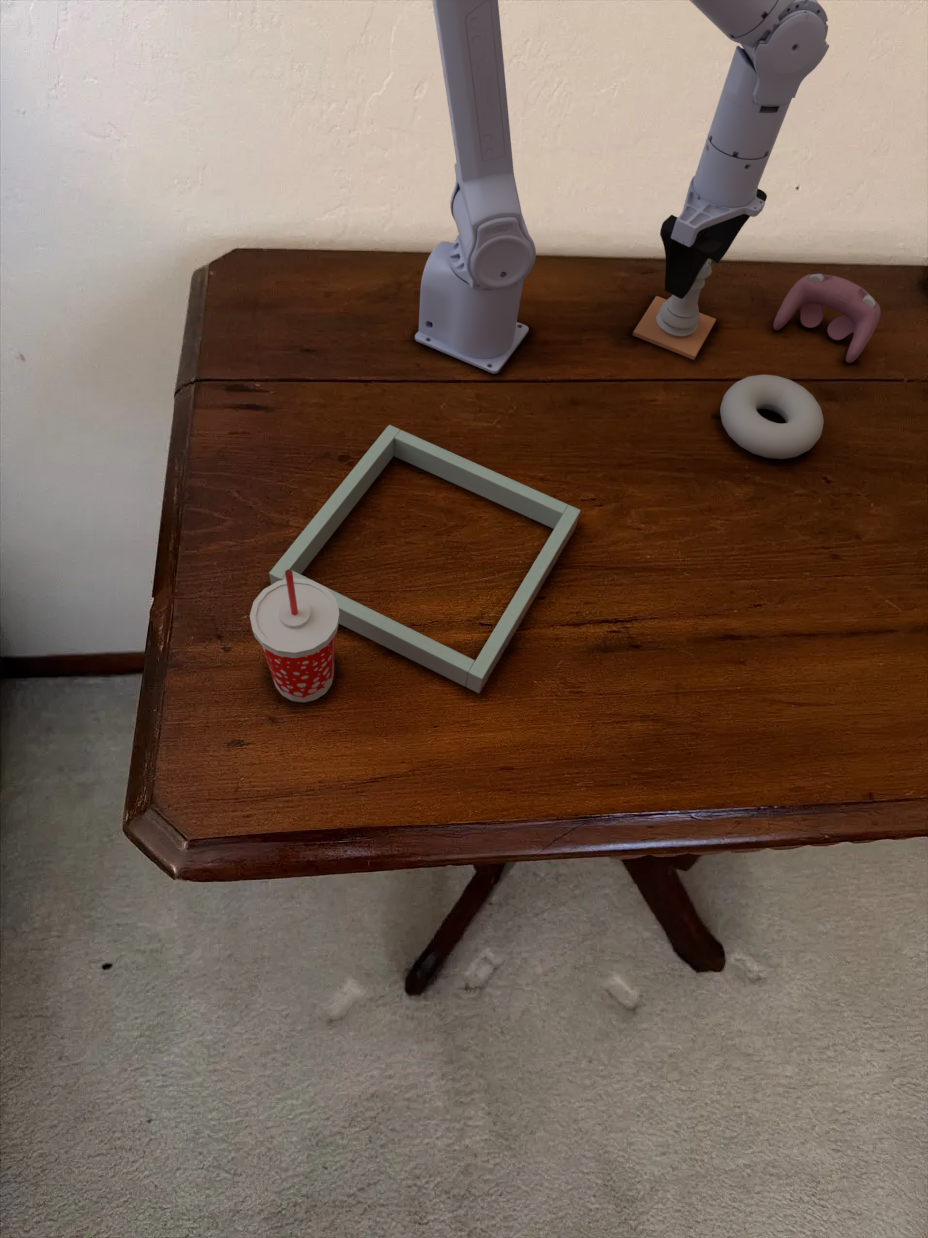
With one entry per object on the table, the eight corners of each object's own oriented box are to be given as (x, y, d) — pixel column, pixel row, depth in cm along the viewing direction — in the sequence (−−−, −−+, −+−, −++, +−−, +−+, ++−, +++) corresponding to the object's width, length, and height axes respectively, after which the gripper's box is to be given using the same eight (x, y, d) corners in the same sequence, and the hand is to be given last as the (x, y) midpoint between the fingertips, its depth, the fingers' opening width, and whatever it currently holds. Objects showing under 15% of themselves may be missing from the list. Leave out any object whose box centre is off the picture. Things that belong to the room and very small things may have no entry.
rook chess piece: (646, 318, 94) (667, 252, 87) (679, 306, 95) (702, 240, 89) (672, 344, 92) (695, 278, 85) (704, 332, 94) (730, 266, 87)
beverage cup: (282, 632, 70) (263, 523, 58) (355, 655, 70) (350, 549, 58) (250, 697, 67) (223, 596, 55) (326, 721, 67) (315, 624, 55)
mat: (632, 335, 93) (633, 331, 93) (655, 299, 97) (656, 295, 96) (693, 360, 92) (695, 356, 91) (714, 322, 95) (716, 318, 95)
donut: (712, 455, 85) (816, 475, 84) (723, 429, 82) (831, 450, 81) (717, 385, 90) (814, 403, 90) (728, 358, 87) (828, 377, 87)
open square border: (271, 590, 72) (268, 572, 70) (388, 443, 82) (389, 423, 80) (479, 694, 69) (482, 679, 67) (575, 527, 79) (581, 509, 76)
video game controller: (856, 361, 96) (893, 298, 92) (853, 367, 93) (891, 302, 89) (773, 323, 98) (806, 260, 95) (767, 327, 95) (801, 262, 91)
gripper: (744, 195, 73) (693, 328, 84) (814, 126, 79) (759, 258, 91) (670, 160, 74) (631, 295, 86) (745, 96, 81) (700, 229, 93)
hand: (693, 274), depth 89 cm, fingers open, 7 cm apart
